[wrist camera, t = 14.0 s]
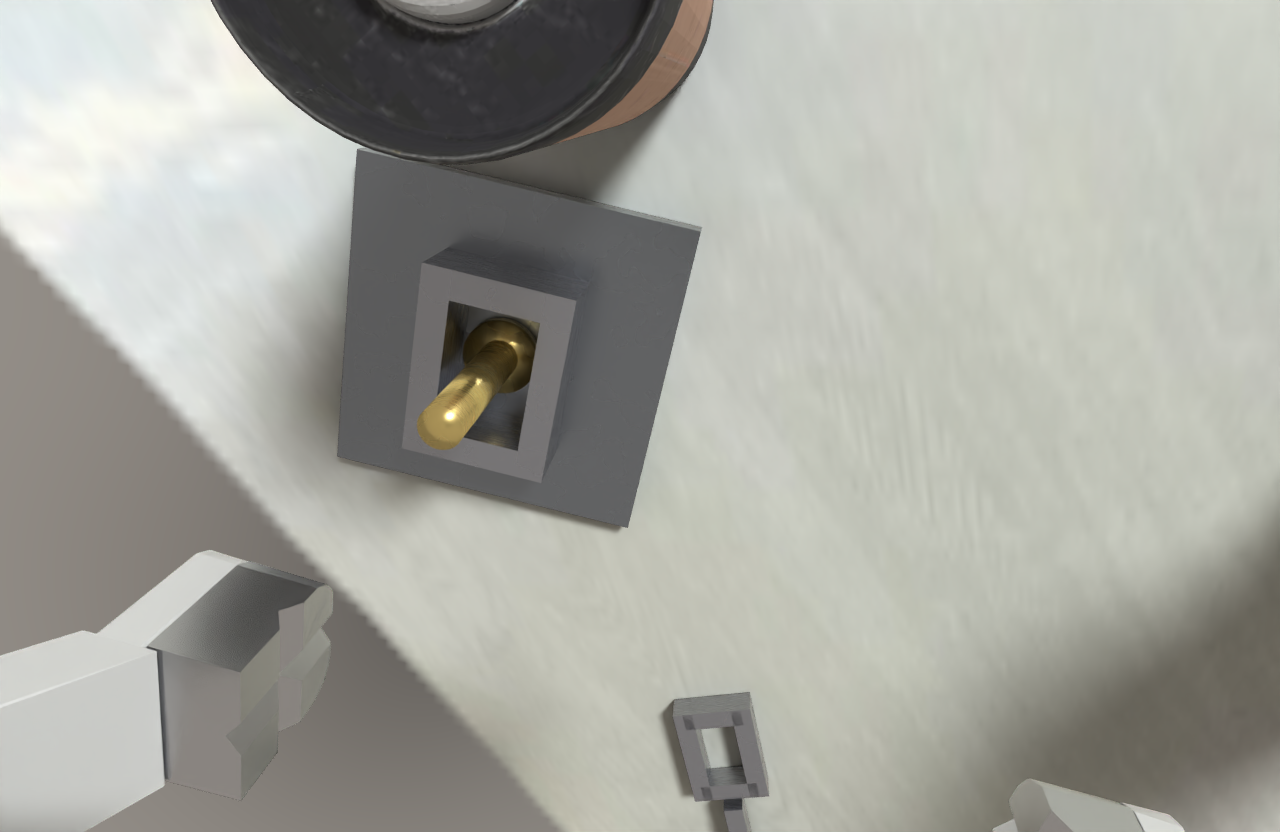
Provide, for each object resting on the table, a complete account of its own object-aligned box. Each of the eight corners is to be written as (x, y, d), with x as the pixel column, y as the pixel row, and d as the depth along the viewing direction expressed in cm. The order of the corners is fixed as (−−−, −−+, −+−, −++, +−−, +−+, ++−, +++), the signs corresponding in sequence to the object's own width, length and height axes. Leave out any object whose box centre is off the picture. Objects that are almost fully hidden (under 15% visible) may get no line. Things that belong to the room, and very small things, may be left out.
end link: (589, 282, 32) (576, 300, 29) (555, 452, 35) (541, 483, 33) (448, 247, 32) (421, 262, 30) (427, 419, 35) (401, 448, 33)
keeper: (701, 227, 32) (690, 277, 24) (630, 516, 37) (601, 639, 29) (367, 147, 32) (241, 169, 24) (346, 447, 38) (238, 549, 29)
